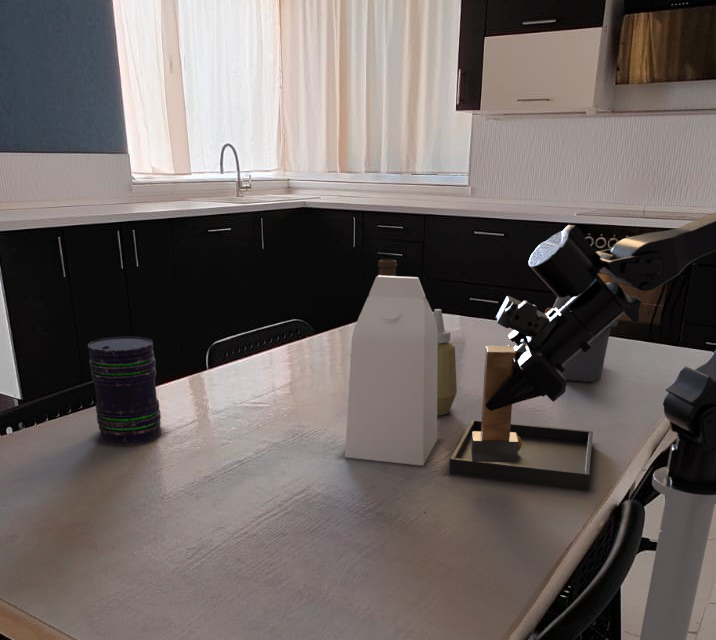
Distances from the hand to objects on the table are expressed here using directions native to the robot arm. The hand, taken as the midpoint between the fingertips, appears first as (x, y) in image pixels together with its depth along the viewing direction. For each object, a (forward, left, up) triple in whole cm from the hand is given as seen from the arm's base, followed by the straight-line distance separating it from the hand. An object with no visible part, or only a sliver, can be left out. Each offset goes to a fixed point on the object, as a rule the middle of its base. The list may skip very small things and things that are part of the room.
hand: (486, 403), depth 103 cm
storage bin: (-10, -68, -12) cm, 69 cm away
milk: (+15, -10, -12) cm, 21 cm away
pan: (-5, -12, -11) cm, 17 cm away
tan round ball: (-3, -12, -9) cm, 16 cm away
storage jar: (+57, -3, -12) cm, 58 cm away
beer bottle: (+26, -46, -12) cm, 54 cm away
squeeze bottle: (+13, -31, -12) cm, 35 cm away
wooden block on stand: (-1, 0, -8) cm, 8 cm away
